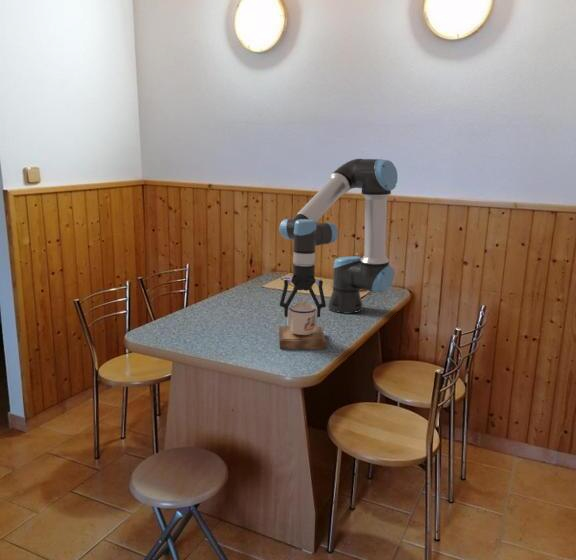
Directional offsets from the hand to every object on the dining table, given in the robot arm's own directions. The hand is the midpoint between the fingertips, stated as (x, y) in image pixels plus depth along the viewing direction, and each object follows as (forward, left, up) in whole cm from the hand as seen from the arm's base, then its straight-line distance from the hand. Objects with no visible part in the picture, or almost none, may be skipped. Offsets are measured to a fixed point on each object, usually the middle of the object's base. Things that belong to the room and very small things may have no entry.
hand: (301, 325), depth 197 cm
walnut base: (0, 0, -6) cm, 6 cm away
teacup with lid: (-1, 0, -2) cm, 2 cm away
